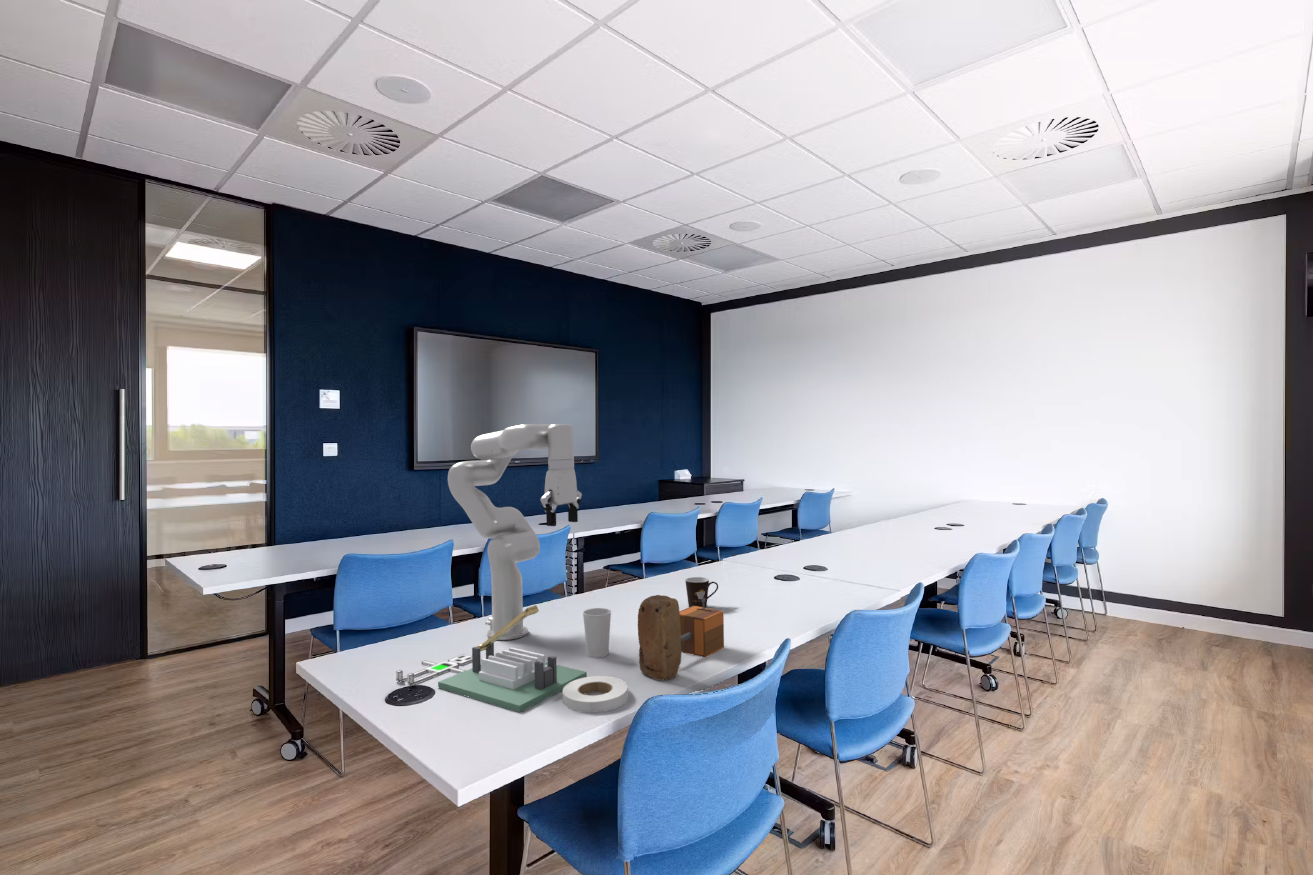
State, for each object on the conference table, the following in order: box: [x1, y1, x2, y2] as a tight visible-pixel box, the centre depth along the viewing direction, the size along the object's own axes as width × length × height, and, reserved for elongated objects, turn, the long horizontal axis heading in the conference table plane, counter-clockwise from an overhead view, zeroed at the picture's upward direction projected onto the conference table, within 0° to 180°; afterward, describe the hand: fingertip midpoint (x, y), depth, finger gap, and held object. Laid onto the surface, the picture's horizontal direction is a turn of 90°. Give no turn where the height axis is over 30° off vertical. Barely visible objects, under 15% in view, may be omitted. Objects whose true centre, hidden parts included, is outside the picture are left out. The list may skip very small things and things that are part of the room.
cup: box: [582, 607, 612, 659], centre depth 182 cm, size 8×8×12 cm
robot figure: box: [395, 653, 472, 687], centre depth 171 cm, size 16×3×22 cm
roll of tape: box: [562, 675, 629, 713], centre depth 151 cm, size 16×15×3 cm
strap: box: [476, 605, 540, 653], centre depth 163 cm, size 23×3×2 cm
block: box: [637, 594, 682, 681], centre depth 165 cm, size 11×8×20 cm
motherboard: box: [437, 642, 588, 713], centre depth 161 cm, size 28×24×8 cm
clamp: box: [679, 598, 725, 658], centre depth 181 cm, size 11×20×14 cm, turn 143°
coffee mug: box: [684, 576, 719, 608], centre depth 230 cm, size 12×9×10 cm
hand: (562, 523), depth 188 cm, fingers open, 9 cm apart
